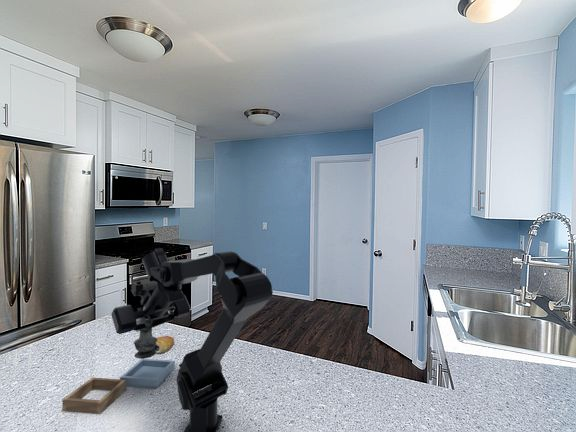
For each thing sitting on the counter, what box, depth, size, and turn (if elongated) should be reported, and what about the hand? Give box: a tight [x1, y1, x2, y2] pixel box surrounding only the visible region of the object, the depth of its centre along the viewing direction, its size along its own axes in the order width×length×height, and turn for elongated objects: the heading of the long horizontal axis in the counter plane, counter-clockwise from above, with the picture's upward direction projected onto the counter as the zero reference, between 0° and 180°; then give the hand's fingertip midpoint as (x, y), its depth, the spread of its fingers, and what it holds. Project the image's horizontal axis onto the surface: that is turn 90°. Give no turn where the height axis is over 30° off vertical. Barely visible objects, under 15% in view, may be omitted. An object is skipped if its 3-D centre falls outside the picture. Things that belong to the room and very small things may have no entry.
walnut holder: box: [61, 377, 127, 415], centre depth 73 cm, size 9×9×2 cm
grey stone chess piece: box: [133, 319, 158, 360], centre depth 82 cm, size 6×6×12 cm
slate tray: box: [119, 358, 176, 389], centre depth 83 cm, size 10×10×2 cm
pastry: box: [153, 335, 175, 354], centre depth 101 cm, size 9×7×4 cm
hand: (143, 328), depth 83 cm, fingers closed on grey stone chess piece, 3 cm apart
